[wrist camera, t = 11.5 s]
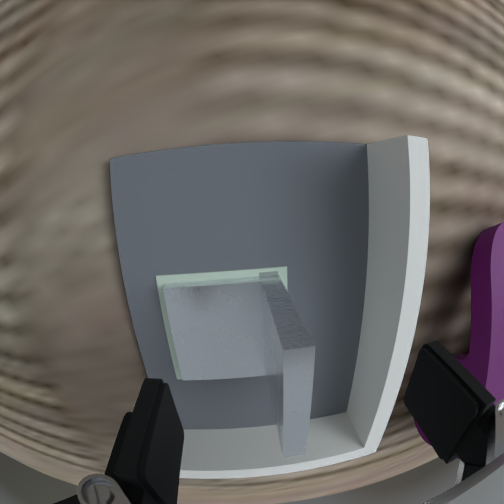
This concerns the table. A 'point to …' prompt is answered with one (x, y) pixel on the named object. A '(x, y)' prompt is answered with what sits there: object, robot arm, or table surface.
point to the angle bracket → (247, 344)
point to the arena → (292, 275)
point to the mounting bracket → (486, 314)
